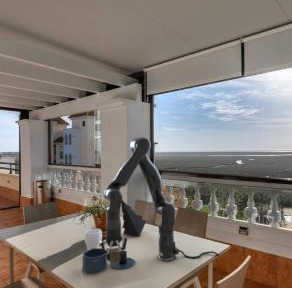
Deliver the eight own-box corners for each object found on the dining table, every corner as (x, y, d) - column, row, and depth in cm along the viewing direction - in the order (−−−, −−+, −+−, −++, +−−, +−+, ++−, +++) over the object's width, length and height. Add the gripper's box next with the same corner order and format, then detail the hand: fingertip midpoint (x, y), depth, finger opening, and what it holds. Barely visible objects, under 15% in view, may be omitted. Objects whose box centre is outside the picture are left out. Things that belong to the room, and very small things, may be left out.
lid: (131, 257, 147) (131, 245, 148) (137, 267, 135) (137, 254, 135) (108, 261, 142) (108, 249, 142) (113, 272, 130) (112, 259, 130)
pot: (104, 259, 145) (104, 245, 145) (109, 273, 129) (109, 257, 129) (81, 263, 140) (81, 248, 140) (84, 278, 124) (84, 261, 124)
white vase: (88, 251, 157) (87, 228, 157) (104, 251, 156) (104, 228, 157) (81, 259, 146) (81, 233, 146) (99, 259, 146) (98, 233, 146)
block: (118, 257, 130) (117, 247, 130) (120, 260, 126) (119, 251, 126) (108, 259, 128) (108, 249, 128) (110, 263, 124) (110, 253, 124)
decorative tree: (124, 237, 190) (107, 206, 172) (132, 222, 202) (117, 191, 184) (141, 240, 184) (125, 208, 166) (148, 224, 196) (134, 192, 178)
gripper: (125, 222, 133) (126, 253, 133) (98, 226, 128) (99, 259, 127) (128, 226, 127) (129, 259, 126) (100, 230, 121) (101, 265, 121)
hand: (114, 259), depth 127 cm, fingers closed on block, 5 cm apart
